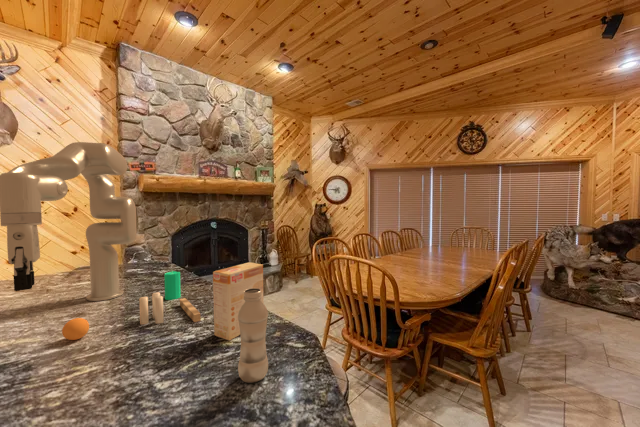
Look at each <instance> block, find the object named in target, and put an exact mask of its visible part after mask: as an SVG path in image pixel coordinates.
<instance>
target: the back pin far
mask: <svg viewBox="0 0 640 427" xmlns="http://www.w3.org/2000/svg"><path fill="white" fill-rule="evenodd" d="M157 296H161V292H159V291H158V292H153V293H151V301H152V302H151V304H152V305H151V306H152V308H151V309H152V320H155V297H157Z"/></svg>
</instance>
